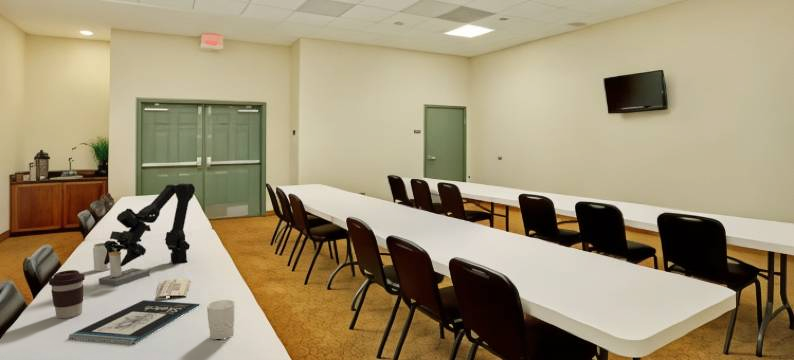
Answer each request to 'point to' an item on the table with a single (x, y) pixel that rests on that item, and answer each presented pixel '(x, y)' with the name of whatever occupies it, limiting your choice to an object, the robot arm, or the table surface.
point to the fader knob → (115, 264)
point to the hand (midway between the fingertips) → (112, 264)
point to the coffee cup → (67, 293)
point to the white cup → (221, 319)
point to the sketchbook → (134, 322)
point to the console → (124, 277)
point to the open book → (173, 288)
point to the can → (100, 257)
